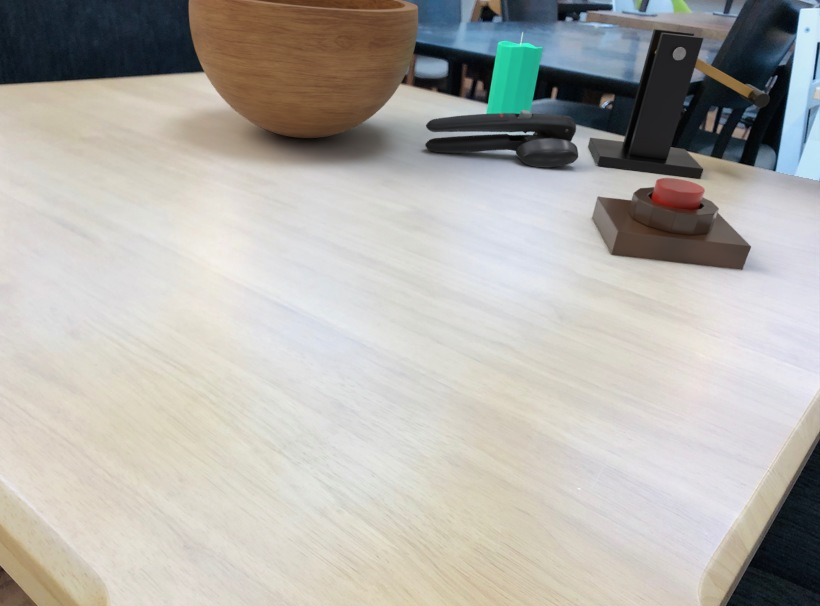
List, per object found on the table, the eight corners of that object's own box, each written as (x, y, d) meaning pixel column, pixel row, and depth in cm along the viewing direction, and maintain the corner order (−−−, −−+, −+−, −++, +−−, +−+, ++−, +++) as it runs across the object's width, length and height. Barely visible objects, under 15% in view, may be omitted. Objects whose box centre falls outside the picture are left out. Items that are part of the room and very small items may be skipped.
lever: (744, 102, 85) (757, 84, 84) (760, 113, 80) (775, 94, 79) (650, 50, 84) (663, 31, 83) (661, 58, 79) (675, 37, 78)
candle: (531, 132, 96) (550, 37, 90) (487, 128, 96) (503, 32, 90) (523, 121, 101) (541, 31, 95) (482, 117, 101) (497, 26, 95)
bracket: (682, 158, 91) (720, 34, 83) (700, 178, 83) (745, 44, 76) (587, 146, 92) (617, 23, 84) (597, 166, 84) (631, 31, 77)
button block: (707, 231, 67) (721, 191, 65) (742, 270, 59) (759, 226, 57) (591, 218, 68) (602, 177, 66) (611, 255, 60) (623, 210, 58)
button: (690, 199, 63) (696, 180, 62) (704, 215, 60) (711, 195, 59) (645, 194, 63) (651, 175, 63) (657, 209, 60) (663, 189, 59)
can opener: (565, 156, 87) (576, 109, 84) (578, 173, 80) (590, 123, 78) (421, 142, 86) (427, 94, 84) (423, 158, 80) (429, 107, 77)
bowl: (421, 127, 93) (437, 1, 85) (376, 180, 72) (392, 19, 64) (244, 100, 97) (244, -22, 90) (152, 143, 76) (142, -12, 68)
